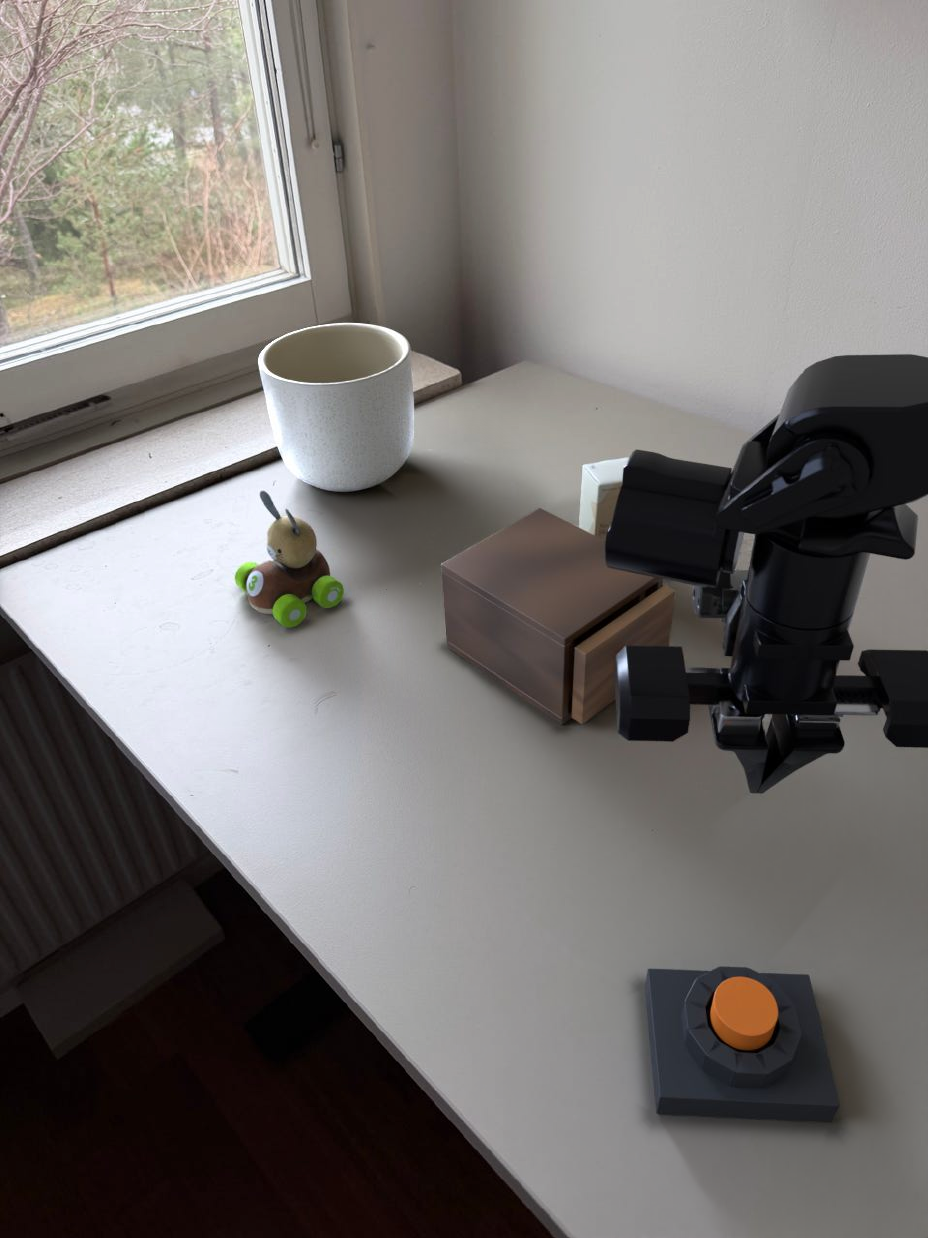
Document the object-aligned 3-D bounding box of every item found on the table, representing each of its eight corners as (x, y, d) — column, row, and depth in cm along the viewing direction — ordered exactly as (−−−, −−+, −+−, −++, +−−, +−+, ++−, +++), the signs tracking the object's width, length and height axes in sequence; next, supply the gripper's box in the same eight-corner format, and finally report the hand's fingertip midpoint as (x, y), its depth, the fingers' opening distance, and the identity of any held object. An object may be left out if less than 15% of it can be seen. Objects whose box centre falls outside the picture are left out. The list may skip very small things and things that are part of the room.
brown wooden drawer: (678, 666, 83) (687, 596, 78) (593, 732, 77) (597, 661, 72) (555, 595, 92) (557, 529, 87) (471, 650, 86) (467, 582, 81)
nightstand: (655, 655, 86) (665, 570, 80) (561, 725, 79) (564, 639, 73) (539, 588, 94) (540, 507, 88) (446, 647, 88) (440, 563, 82)
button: (767, 993, 56) (772, 977, 55) (778, 1052, 53) (784, 1037, 52) (706, 990, 56) (709, 975, 55) (714, 1049, 54) (718, 1034, 53)
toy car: (231, 594, 96) (208, 500, 89) (304, 559, 100) (287, 468, 93) (277, 636, 90) (257, 540, 83) (353, 598, 94) (339, 503, 87)
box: (590, 579, 95) (595, 485, 88) (575, 556, 98) (579, 463, 91) (639, 570, 96) (647, 475, 89) (622, 547, 99) (629, 454, 92)
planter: (440, 488, 110) (432, 365, 101) (299, 522, 106) (276, 397, 96) (394, 426, 123) (383, 312, 113) (266, 454, 118) (244, 338, 108)
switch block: (802, 992, 60) (814, 958, 57) (832, 1123, 54) (847, 1091, 51) (644, 986, 61) (649, 952, 58) (656, 1114, 55) (662, 1082, 52)
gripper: (931, 516, 56) (871, 703, 66) (616, 515, 58) (603, 698, 67) (1000, 636, 47) (918, 831, 57) (628, 631, 49) (611, 821, 59)
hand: (754, 788), depth 60 cm, fingers closed
